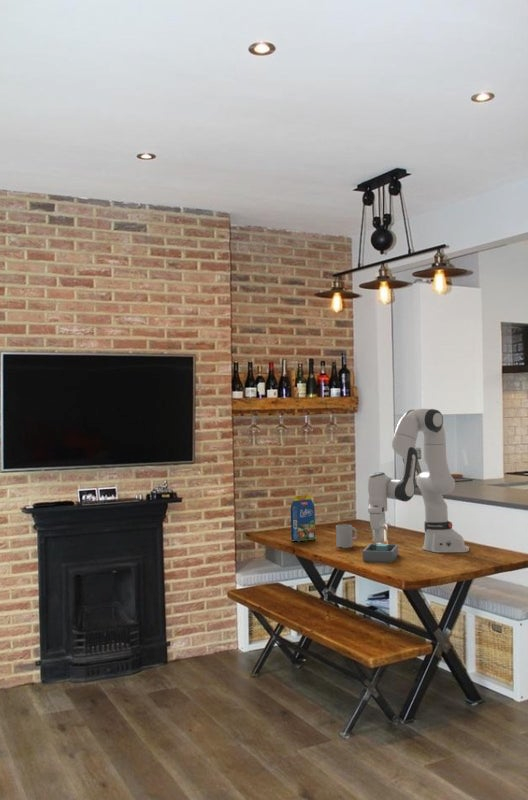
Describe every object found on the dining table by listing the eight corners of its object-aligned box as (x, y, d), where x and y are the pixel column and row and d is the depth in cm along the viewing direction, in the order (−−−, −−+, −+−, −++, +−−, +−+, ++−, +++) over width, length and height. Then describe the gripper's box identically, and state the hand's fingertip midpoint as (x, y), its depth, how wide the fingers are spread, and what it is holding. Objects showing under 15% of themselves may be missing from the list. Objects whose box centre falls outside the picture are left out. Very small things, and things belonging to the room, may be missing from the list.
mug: (341, 548, 380) (341, 527, 380) (333, 546, 388) (332, 525, 388) (361, 546, 385) (360, 525, 386) (352, 543, 393) (352, 523, 393)
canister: (374, 540, 354) (374, 526, 354) (384, 541, 352) (384, 526, 352) (372, 542, 349) (372, 527, 349) (383, 543, 347) (382, 528, 347)
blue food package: (315, 540, 407) (314, 494, 408) (298, 542, 401) (296, 496, 401) (308, 538, 413) (307, 493, 413) (291, 541, 406) (290, 495, 406)
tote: (398, 555, 361) (398, 544, 361) (392, 562, 343) (392, 551, 344) (369, 554, 365) (369, 543, 365) (363, 561, 348) (362, 550, 348)
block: (378, 554, 361) (377, 543, 361) (388, 554, 360) (388, 544, 360) (376, 556, 356) (376, 545, 356) (386, 556, 355) (386, 546, 355)
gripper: (375, 504, 361) (375, 532, 361) (367, 509, 342) (368, 539, 342) (388, 504, 359) (388, 532, 359) (381, 510, 340) (381, 540, 340)
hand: (378, 536), depth 350 cm, fingers closed on canister, 5 cm apart
